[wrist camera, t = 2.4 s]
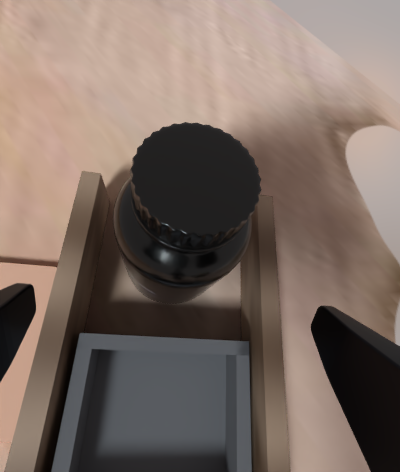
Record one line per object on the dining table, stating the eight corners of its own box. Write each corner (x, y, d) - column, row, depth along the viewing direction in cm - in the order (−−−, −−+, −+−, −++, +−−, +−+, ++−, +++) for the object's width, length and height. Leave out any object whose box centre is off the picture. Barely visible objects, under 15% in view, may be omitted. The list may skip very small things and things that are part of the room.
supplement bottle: (114, 293, 19) (58, 231, 8) (142, 212, 21) (131, 77, 10) (206, 316, 19) (279, 288, 8) (222, 233, 22) (293, 127, 11)
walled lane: (263, 546, 15) (299, 615, 11) (12, 563, 13) (-43, 651, 9) (253, 219, 23) (272, 196, 19) (94, 200, 21) (82, 171, 17)
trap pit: (235, 502, 15) (253, 539, 13) (57, 510, 14) (34, 552, 11) (234, 340, 19) (248, 341, 16) (91, 333, 17) (79, 333, 15)
